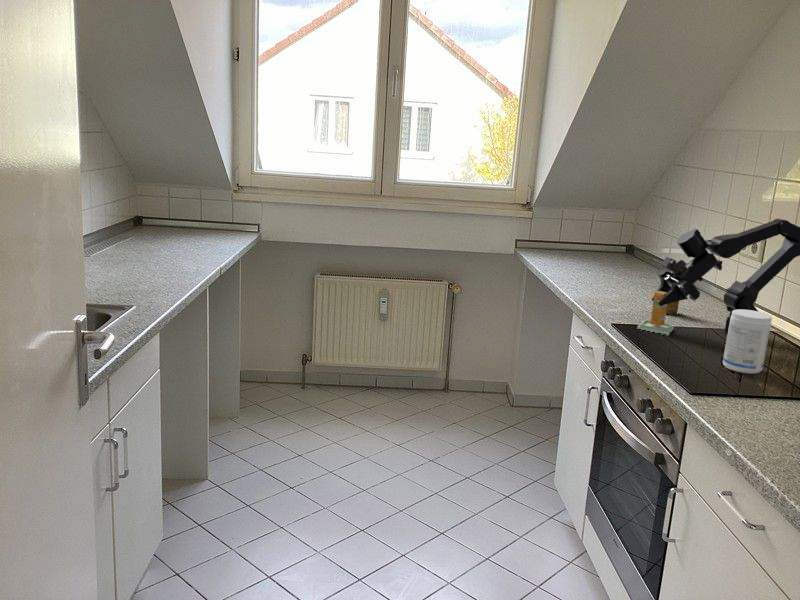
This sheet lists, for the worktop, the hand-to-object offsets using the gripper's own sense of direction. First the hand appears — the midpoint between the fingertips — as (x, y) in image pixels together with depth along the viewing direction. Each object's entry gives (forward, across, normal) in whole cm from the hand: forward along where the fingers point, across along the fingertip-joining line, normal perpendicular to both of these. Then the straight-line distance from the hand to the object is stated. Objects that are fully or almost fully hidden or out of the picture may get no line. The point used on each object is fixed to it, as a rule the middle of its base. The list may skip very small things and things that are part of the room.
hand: (655, 302), depth 225 cm
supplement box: (+4, 0, +6) cm, 7 cm away
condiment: (-6, -24, +18) cm, 30 cm away
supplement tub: (0, +36, +12) cm, 38 cm away
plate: (+5, 0, +7) cm, 8 cm away
